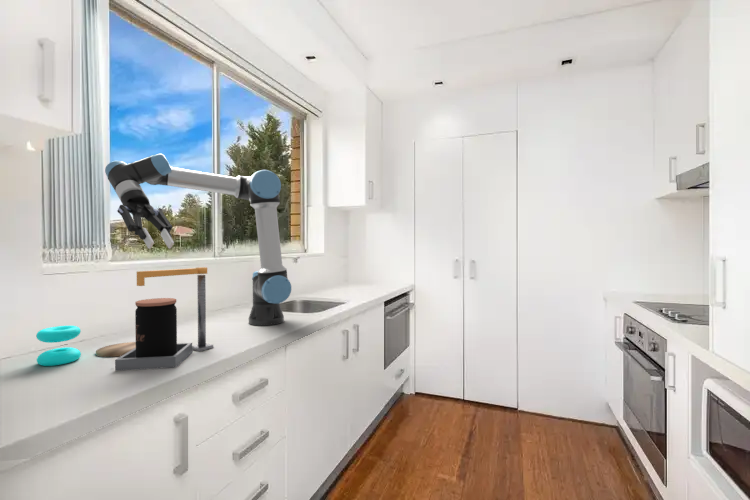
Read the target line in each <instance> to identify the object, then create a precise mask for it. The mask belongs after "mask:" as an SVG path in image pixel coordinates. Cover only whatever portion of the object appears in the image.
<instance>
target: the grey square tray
mask: <svg viewBox="0 0 750 500" xmlns="http://www.w3.org/2000/svg"><path fill="white" fill-rule="evenodd" d="M192 346H193V342H181V343H180V342H179V343H178V342H177V353H176V354H175V355H174V356H162V357H142V358H136V348H134V349H132V350H131V351H129V352H127V353H126V354H124V355H122V356H118V357H117V358H116V359H114V371H115V372H116V371H134V370H136V371H137V370H151V369H153V370H154V369H169V368H170V369H171V368H172V369H173V368H177V366H179V365H180V364H181V363H182V362H184V360H186V359H187V358H188V357H189V356H190V355H191V354H192V353H193V350H192Z"/></svg>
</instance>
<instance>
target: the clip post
mask: <svg viewBox="0 0 750 500" xmlns="http://www.w3.org/2000/svg"><path fill="white" fill-rule="evenodd" d="M196 275H197V276H196V277H197V278H196V279H197V280H196V281H197V344H194V345H192V351H196V352H202V351H208V350H211V349H214V344H210V343H207V330H206V329H207V327H206V326H207V324H206V323H207V322H206V321H207V319H206V318H207V317H206V316H207V315H206V310H207V309H206V303H207V302H206V274H196Z"/></svg>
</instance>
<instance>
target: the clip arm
mask: <svg viewBox="0 0 750 500" xmlns="http://www.w3.org/2000/svg"><path fill="white" fill-rule="evenodd" d="M207 274H208V267H206V266H205V267H204V266H203V267H199V266H198V267H191V268H176V269H175V268H173V269H172V268H171V269H156V270H154V269H153V270H140V271H139V270H138V271H136V286H137V287H143V286H146V285H145V284H146V283H145V280H146V279H145V278H158V277H172V276H173V277H174V276H185V275H186V276H187V275H207Z"/></svg>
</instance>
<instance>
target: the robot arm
mask: <svg viewBox="0 0 750 500" xmlns="http://www.w3.org/2000/svg"><path fill="white" fill-rule="evenodd" d="M104 169H105V170H104V173H105V175H106V178H107V180H108V181H109V183H110V184H111V187H112V188H113V190H114V192H115V193H116V195H117V197H118V198H119V200H120V202H121V204H120V205H119V207H118V208H117V210H116V212H117V213H118V214H119V215H120V216H121V218H122V219H123V221H124V224H125V226H126V228H127V230H128V232H131V233H133V232H134V235H136V236H138V237H139V238H140V239H141V240H143V242H144V244H145V246H146V247H147V249H152V247H153V245H154V244H155V240H153V238H152V236H151V235H150V233H149V231H148V229H147V228H146V227H143V222H142V218H143V219H145V220H146V221H147V222H149V223H151V224H152V225H153V226H154V227H155V228H156V229H157V230H158V231H159V232H160V236H161V238H162V240H163V242H164V244H165V245H166V247H167V248H168V249H172V248H173V246H174V244H175V241H174V240H173V238H172V237H173V236H172V234H171V231H172V229H173V225H172V224H171V221H169V219H168V218H167V217H166V215H165V214H164V211H163V209H162V208H161V207H158V209H156V208H154V207H153V206H152V205H151V204H150V200H149V197H148V196H147V194H146V193H145V191H144V189H143V187H142V186H141V184H144V183H146V184H148V185H151V186H158V185H160V186H167V187H168V186H169V187H175V188H176V187H177V188H182V189H189V190H196V191H203V192H208V193H210V192H211V193H217V194H223V195H229V196H234V197H235V198H236V199H241V200H246V201H249V203H250V207H252V209H254V215H255V223H256V234H257V243H258V251H259V262H260V268H259V269H258V270H256V271H254V272H253V273H252V278H251V279H252V307H251V310H250V314H249V316H248V325H250V326H251V325H253V326H273V325H274V326H275V325H278V324H282V323H284V322H285V317H284V316H285V315H284V313H283V310H282V307H281V304H282V303H283V302H285V301H286V300H287V299H288V298H289V297H290V295H291V293H292V283H291V281H290V280H289V279H288V270H287V268H286V267H285V266H284V265H283V260H282V258H283V257H282V249H281V248H282V247H281V241H280V230H279V218H278V210H277V209H278V206H280V204H281V203H280V192H281V189H282V183H281V180H280V177H278V175H277V174H276V173H275V172H274V171H271V170H268V169H261V170H257V171H255V172H253V174H251V176H250V175H249V176H243V175H237V176H236V177H235V176H229V175H223V174H215V173H212V172H211V173H210V172H204V171H203V172H202V171H199V170H192V169H185V168H180V167H175V166H174V167H173V166H171V164H170V163H169V161H168V159H167V158H166V156H165V155H164V154H163V153H157V154H152V155H150V156H146V157H145V158H142V159H139V160H136V161H133V162H131V163H126V162H125V161H122V160H113V161H111V162H109V163H107V165H106V166H105V168H104Z"/></svg>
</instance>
